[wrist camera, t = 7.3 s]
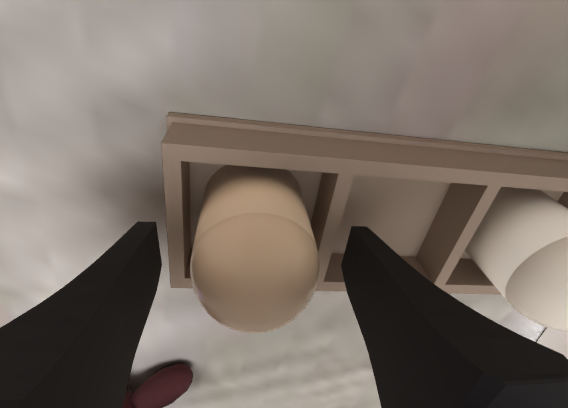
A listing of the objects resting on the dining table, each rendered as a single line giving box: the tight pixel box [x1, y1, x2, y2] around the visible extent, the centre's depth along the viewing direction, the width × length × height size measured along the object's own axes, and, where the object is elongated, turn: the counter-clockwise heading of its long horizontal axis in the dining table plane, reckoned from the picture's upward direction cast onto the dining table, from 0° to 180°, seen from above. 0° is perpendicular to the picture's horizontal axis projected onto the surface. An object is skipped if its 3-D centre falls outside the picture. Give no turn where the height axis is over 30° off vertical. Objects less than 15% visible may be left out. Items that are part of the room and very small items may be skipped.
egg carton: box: [161, 112, 568, 294], centre depth 15 cm, size 20×7×2 cm, turn 82°
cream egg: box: [465, 187, 568, 332], centre depth 14 cm, size 4×4×6 cm
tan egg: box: [190, 165, 319, 333], centre depth 12 cm, size 4×4×6 cm
